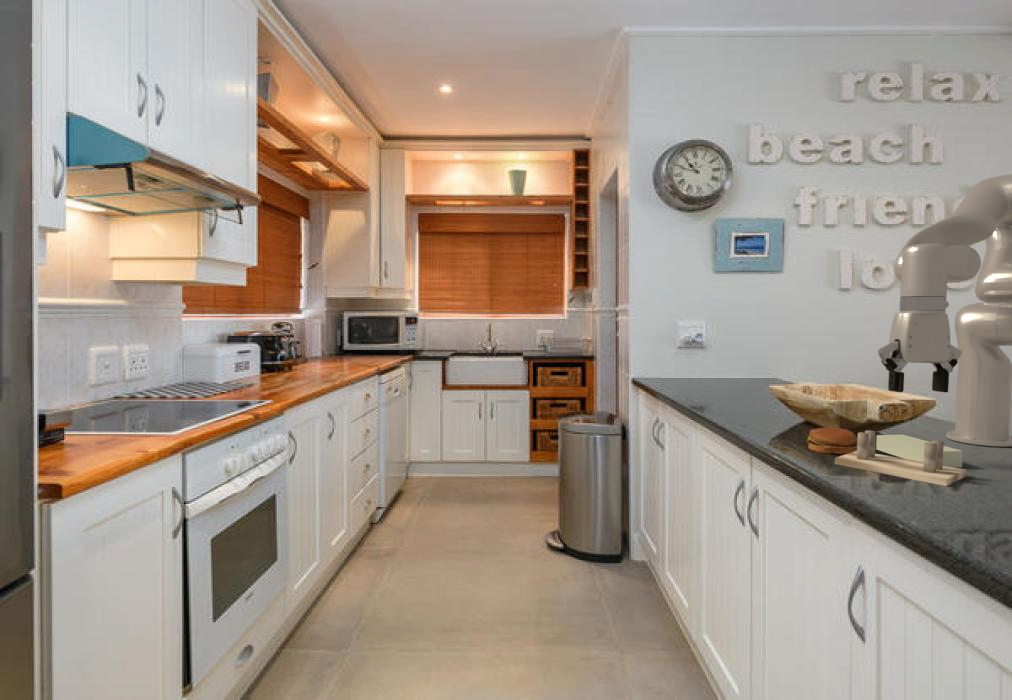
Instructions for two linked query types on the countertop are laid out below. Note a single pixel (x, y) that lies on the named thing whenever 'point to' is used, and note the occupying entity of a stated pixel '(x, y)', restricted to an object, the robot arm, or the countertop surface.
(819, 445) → the burger
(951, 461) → the shelf board
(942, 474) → the peg rack
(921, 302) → the robot arm
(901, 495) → the countertop surface
